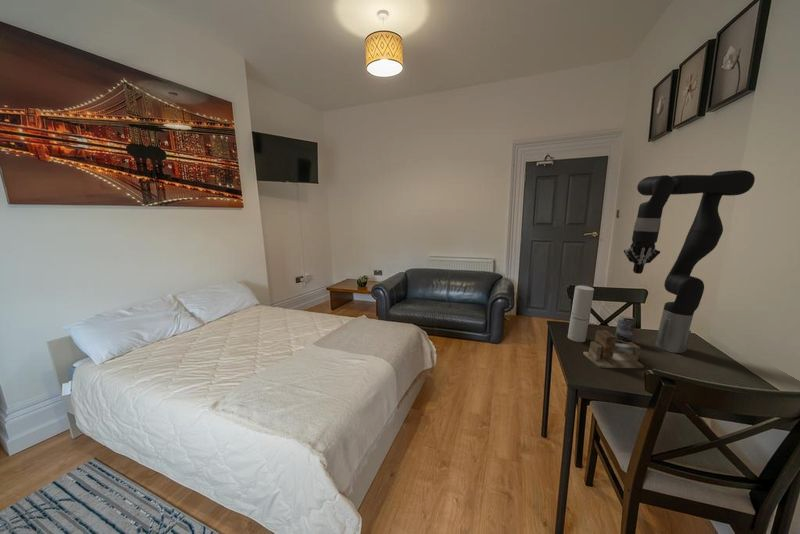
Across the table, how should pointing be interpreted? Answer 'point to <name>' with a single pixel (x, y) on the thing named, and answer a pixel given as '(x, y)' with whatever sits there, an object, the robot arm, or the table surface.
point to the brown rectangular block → (606, 343)
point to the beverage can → (624, 329)
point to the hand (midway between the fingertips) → (637, 273)
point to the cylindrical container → (580, 313)
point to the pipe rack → (615, 356)
